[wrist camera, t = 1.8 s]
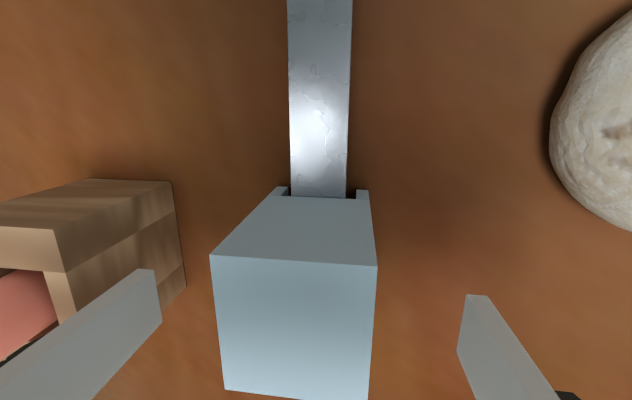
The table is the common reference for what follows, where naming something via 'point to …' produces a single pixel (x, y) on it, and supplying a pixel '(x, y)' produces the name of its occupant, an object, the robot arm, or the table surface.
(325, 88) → the rail
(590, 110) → the stone
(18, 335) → the plunger
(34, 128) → the table surface
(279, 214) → the carriage
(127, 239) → the wooden box
